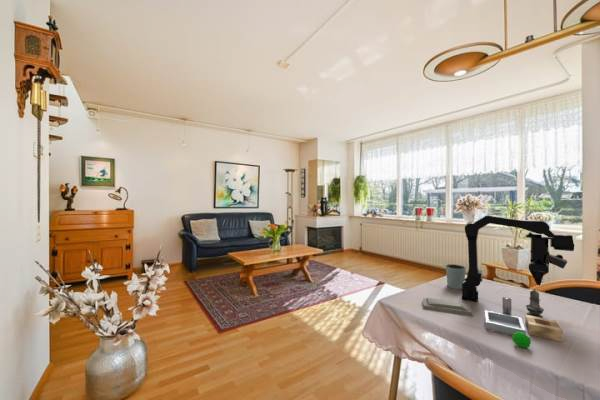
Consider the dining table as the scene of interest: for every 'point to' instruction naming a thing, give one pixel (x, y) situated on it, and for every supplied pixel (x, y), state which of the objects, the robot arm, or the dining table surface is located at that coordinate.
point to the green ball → (521, 339)
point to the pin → (506, 305)
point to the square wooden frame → (543, 327)
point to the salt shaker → (534, 305)
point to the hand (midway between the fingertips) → (539, 282)
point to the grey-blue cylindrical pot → (455, 275)
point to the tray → (503, 323)
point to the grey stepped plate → (446, 306)
